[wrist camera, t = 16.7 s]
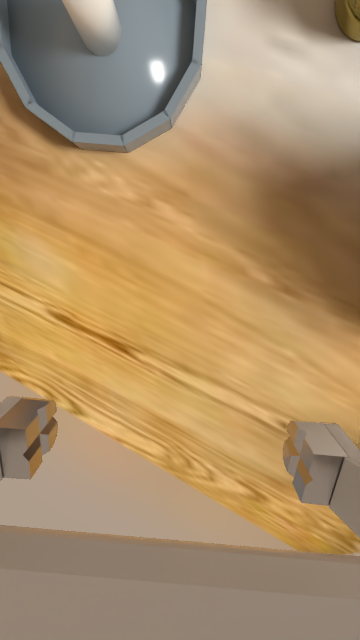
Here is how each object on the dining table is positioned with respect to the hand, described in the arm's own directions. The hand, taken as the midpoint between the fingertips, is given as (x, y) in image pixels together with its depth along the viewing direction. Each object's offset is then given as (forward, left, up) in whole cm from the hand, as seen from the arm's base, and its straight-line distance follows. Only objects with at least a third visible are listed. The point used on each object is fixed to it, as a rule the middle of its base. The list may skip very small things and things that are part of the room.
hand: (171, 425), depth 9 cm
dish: (-11, +27, -29) cm, 41 cm away
